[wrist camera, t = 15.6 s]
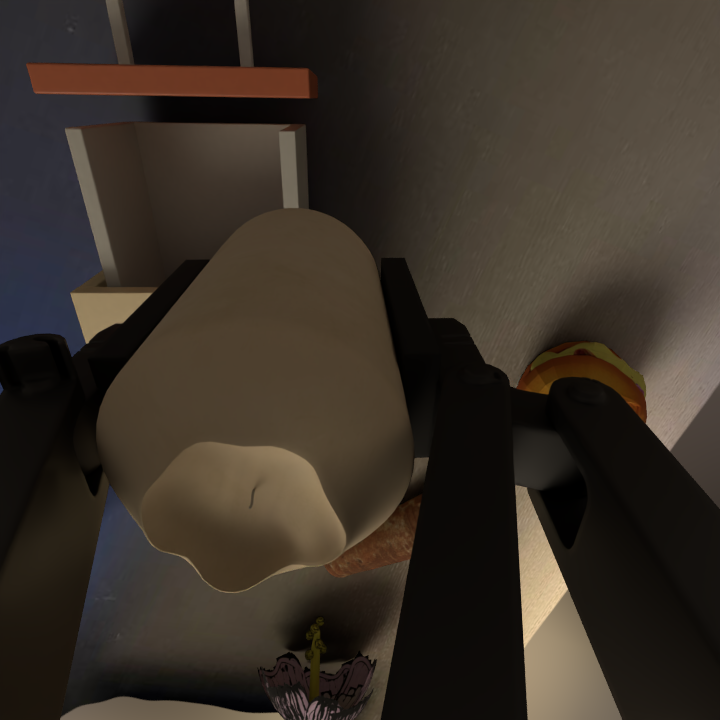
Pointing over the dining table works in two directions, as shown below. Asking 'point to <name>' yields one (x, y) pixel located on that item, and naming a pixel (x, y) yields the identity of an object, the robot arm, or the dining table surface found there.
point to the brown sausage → (381, 543)
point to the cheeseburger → (586, 371)
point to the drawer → (179, 157)
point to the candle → (264, 407)
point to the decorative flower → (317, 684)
